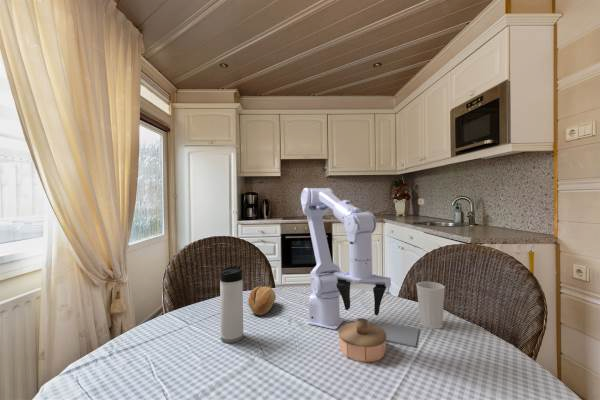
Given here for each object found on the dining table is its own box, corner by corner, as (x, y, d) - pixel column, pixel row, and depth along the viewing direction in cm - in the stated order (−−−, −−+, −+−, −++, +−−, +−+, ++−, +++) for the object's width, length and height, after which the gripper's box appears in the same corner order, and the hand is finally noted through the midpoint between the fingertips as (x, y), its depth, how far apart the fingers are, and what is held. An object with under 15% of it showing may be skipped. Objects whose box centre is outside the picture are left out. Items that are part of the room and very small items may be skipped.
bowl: (334, 355, 68) (334, 339, 68) (348, 335, 78) (348, 322, 78) (379, 366, 63) (379, 350, 63) (388, 344, 72) (388, 330, 72)
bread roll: (244, 318, 91) (244, 294, 92) (253, 302, 106) (252, 281, 107) (272, 318, 91) (272, 294, 91) (277, 302, 106) (277, 281, 106)
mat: (372, 338, 76) (372, 337, 76) (381, 323, 85) (381, 321, 85) (415, 347, 71) (415, 346, 71) (419, 330, 80) (419, 328, 80)
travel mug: (248, 334, 80) (247, 266, 80) (234, 345, 74) (232, 271, 74) (231, 330, 82) (230, 264, 83) (216, 340, 76) (215, 269, 77)
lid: (331, 340, 68) (331, 325, 68) (347, 321, 78) (347, 308, 78) (380, 351, 62) (380, 335, 62) (390, 329, 73) (390, 316, 73)
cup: (449, 330, 79) (448, 289, 80) (420, 328, 81) (419, 288, 81) (441, 319, 87) (440, 282, 87) (414, 317, 89) (413, 281, 89)
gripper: (328, 259, 70) (330, 311, 70) (386, 264, 64) (387, 322, 63) (338, 254, 77) (339, 302, 76) (391, 258, 70) (393, 311, 70)
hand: (361, 311), depth 70 cm, fingers open, 7 cm apart
